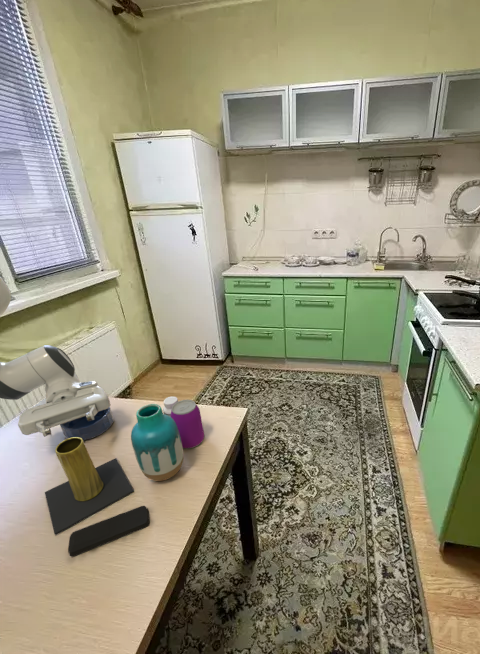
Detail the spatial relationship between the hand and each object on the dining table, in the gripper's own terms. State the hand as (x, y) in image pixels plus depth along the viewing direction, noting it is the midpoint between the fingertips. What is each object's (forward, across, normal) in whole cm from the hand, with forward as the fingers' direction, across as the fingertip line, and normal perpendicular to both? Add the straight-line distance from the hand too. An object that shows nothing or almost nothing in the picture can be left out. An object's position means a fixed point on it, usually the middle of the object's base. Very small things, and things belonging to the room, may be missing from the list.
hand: (69, 425), depth 81 cm
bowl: (-15, +3, +12) cm, 19 cm away
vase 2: (+17, +17, +12) cm, 27 cm away
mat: (+13, 0, +12) cm, 17 cm away
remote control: (+26, +2, +12) cm, 29 cm away
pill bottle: (0, +25, +12) cm, 28 cm away
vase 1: (+13, 0, +11) cm, 17 cm away
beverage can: (+10, +26, +12) cm, 30 cm away
